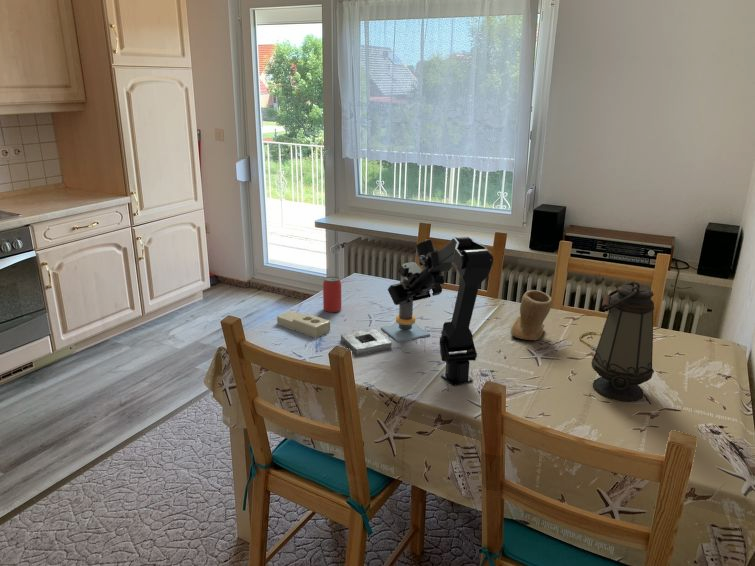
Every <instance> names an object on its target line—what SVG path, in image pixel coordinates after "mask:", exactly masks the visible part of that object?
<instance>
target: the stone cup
mask: <svg viewBox="0 0 755 566" xmlns="http://www.w3.org/2000/svg"><path fill="white" fill-rule="evenodd" d="M552 304H553V298H552V297H551V296H550V295H549V294H547V293H546V292H543V291H542V290H537V289H529V290H527V291H526V292H524V293H523V294H522V297H521V302H520V307H519V312H520V313H519V314H520V316H518V317H517V318H516V320H515V321H514V323H513V325H512V326H511V328H510V335H511V336H513V337H515V338H518V339H522V340H524V341H525V340H526V341H536V340H539V339H540V337H541V336H542V334H543V332H544V327H545V324H543V323H544V321H545V319H546V318H547V316H548V315H549V313H550V311H551V307H552Z"/></svg>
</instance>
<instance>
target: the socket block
mask: <svg viewBox="0 0 755 566" xmlns="http://www.w3.org/2000/svg"><path fill="white" fill-rule="evenodd" d="M369 340H370V341H369ZM340 341H341V342H342V343H343V344H344V345H345V346H346V347H347V348H348V349H349V348H350V349H351V350H352V351H351V350H350V349H349V350H350V351H351V352H352V353H353V354H354V355H355V356H362V355H367V354H370V353H371V354H372V353H375V352H381V351H385V350H390V349H393V342H392V341H391V340H389V338H387V337H386V336H385V335H383V334H382V333H381V332H379V331H378V330H377V329H376V328H370V329H364V330H358V331H353V332H349V333H344V334H340ZM363 341H364V342H363ZM365 341H367V342H365ZM362 342H363V343H362Z"/></svg>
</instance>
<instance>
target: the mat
mask: <svg viewBox="0 0 755 566" xmlns="http://www.w3.org/2000/svg"><path fill="white" fill-rule="evenodd" d="M380 330H381V331H383V332H385V334H386V335H388V336H390V337H391V338H392V339H393V340H395V341H396V342H397V343H400V342H401V343H402V342H405V341H410V340H415V339H416V340H417V339H421V338H425V337H430V336H431V333H430V332H428V331H426V330H425V329H423V328H422V327H420V325H418V324H416V322H415V323H414V324H412V329H410V330H402V329H400V328H399V324H398V323H395V324H389V325H383V326H381V327H380Z"/></svg>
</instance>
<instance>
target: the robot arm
mask: <svg viewBox="0 0 755 566" xmlns="http://www.w3.org/2000/svg"><path fill="white" fill-rule="evenodd" d="M414 248H415V250H416V251H415V252H416V254H417V258H418V263H419V265H418V264H417V263H416V262H414V261H409V262H405V263H403V264H401V266H399V267H398V270H397V271H398V274H399V275H400V276H401V277H403V278H405V277H406V278H407V279H408V280H407V281H406V282H407V284H409V286H406V288H407V289H404V287H403V285H402V284H400V282H398V283H393V284H391V285H389V287H388V288H387V291H388V294H389V295H390V298H391V299H392V302H393V304H394V305H396V306H399V305H400V304H405V303H409V302H410V300H409V299H410V298H411V296H413V302H415V301H420V300H424V299H428V298H431V297H432V296H433V297H434V296H440V294H441V293H442V292H443V287H442V285H444V284H445V278H444V277H445V276H444V272H450V270H451V269H452V268H453V267H454V264H455V266H456V269H457V272H458V274H459V277H460V281H459V284H458V290H457V295H456V300H455V303H454V308H453V312H452V318H451V321H445V322H444V323H443V325H442V331H441V333H440V334H441V336H440V337H439V342H438V343H439V351H440V352H439V353H440V357H441V358H440V359H441V362H444V363H445V372H444V373H441V375H440V376H441V377H442V378H443V379H444V380H445V381H447V382H449V384H451V385H452V386H458V385H459V386H460V385H464V384H466V383H470V382H473V380H474V379H473V378H472V377H471V376H469V373H470V361H474V362H475V361H476V360H477V358H478V354H477V350H476V347H475V342H474V339H473V338H474V335H473V332H472V331H471V329H470V324H471V320H472V317H473V312H474V309H475V305H476V301H477V300H476V299H477V296H478V292H479V289H480V285H481V284H482V283H483V281H485V280H486V279H487V278H488V277H489V275H490V273H491V270H492V267H493V266H494V256H493V254H492V253H491V252H490V250H488V248H487V247H486V246H485V245H482V243H479V242H476V241H475V240H474V239H473V237H470V236H455V237H454V238H451V241H450V242H449V243H447V244H445V246H444V247H442V248H441V249H440V250H436V247H435V245H434V242H433V241H432V239H424V240H423V241H422V242H419V243H417V244H416V245H415V247H414ZM420 266H422V267H424V268H423V269H422V268H421V267H420ZM431 291H432V293H430V292H431ZM431 295H432V296H431Z"/></svg>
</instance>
